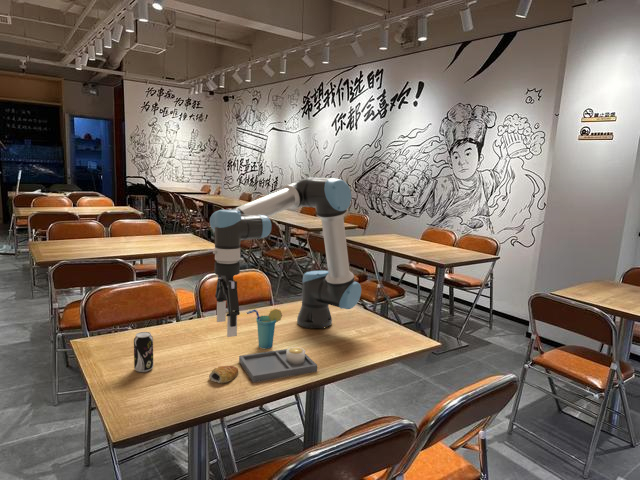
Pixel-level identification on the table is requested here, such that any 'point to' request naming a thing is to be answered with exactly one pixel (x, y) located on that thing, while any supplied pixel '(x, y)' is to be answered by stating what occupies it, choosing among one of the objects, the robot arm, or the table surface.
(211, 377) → the pastry
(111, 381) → the table surface
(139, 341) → the beverage can
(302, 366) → the serving board
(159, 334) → the table surface
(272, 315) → the cup
